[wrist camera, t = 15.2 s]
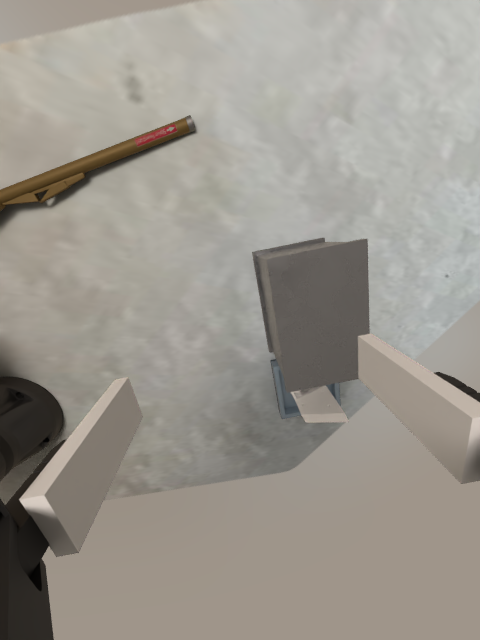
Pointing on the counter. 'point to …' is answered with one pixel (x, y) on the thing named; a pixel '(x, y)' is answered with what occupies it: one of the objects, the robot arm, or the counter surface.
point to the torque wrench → (88, 165)
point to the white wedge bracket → (318, 405)
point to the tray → (286, 399)
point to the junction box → (314, 309)
